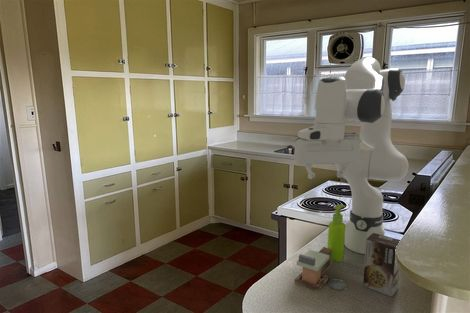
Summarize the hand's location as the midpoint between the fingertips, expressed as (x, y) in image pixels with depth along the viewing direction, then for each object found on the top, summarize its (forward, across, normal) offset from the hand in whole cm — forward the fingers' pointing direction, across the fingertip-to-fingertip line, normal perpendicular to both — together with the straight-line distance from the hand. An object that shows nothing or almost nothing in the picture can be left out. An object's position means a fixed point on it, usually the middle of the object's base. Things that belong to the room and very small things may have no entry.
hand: (325, 178), depth 102 cm
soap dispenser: (+34, -14, -15) cm, 40 cm away
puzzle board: (+35, -2, -5) cm, 35 cm away
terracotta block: (+35, +2, -2) cm, 35 cm away
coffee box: (+35, -18, +6) cm, 40 cm away
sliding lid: (+28, +1, -3) cm, 29 cm away
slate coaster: (+35, -5, +2) cm, 35 cm away
